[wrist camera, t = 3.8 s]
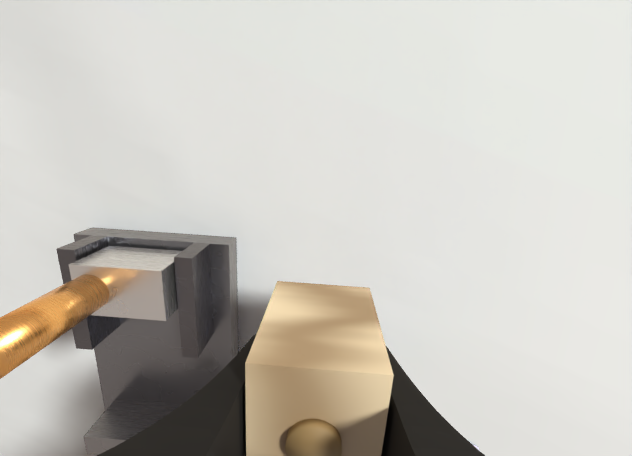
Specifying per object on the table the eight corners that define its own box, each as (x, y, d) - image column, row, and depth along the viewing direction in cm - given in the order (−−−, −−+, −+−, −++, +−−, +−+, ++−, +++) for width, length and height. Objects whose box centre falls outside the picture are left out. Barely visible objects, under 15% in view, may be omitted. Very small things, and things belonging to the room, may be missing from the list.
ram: (187, 251, 18) (79, 332, 10) (190, 294, 19) (92, 399, 11) (109, 245, 18) (-57, 321, 10) (115, 288, 19) (-34, 388, 11)
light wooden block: (369, 288, 13) (396, 384, 7) (358, 382, 14) (374, 518, 9) (277, 281, 13) (242, 371, 8) (275, 375, 14) (244, 505, 9)
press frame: (236, 237, 20) (210, 263, 15) (239, 407, 24) (219, 465, 19) (92, 227, 20) (26, 250, 16) (119, 396, 24) (72, 452, 20)
